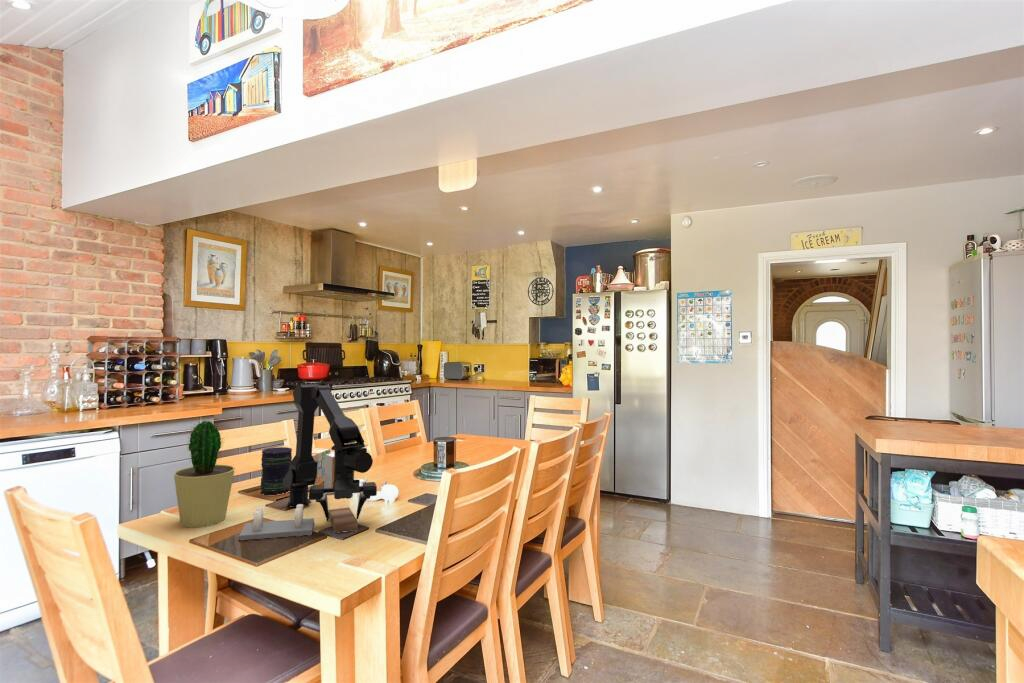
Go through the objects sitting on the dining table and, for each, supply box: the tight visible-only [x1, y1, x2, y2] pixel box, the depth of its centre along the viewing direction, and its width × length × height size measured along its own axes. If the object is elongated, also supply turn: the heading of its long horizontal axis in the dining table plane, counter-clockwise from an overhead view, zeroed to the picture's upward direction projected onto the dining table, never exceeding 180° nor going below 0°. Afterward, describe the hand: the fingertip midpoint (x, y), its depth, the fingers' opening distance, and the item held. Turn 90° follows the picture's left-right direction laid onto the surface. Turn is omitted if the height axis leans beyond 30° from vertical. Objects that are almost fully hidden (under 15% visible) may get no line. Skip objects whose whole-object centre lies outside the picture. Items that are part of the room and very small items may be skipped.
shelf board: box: [328, 507, 359, 534], centre depth 148 cm, size 14×6×3 cm, turn 27°
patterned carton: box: [312, 447, 335, 485], centre depth 196 cm, size 21×6×12 cm, turn 170°
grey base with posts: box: [238, 504, 315, 541], centre depth 141 cm, size 10×18×6 cm, turn 108°
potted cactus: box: [173, 420, 236, 528], centre depth 148 cm, size 15×15×30 cm
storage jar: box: [260, 446, 293, 496], centre depth 179 cm, size 10×10×15 cm
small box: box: [323, 453, 334, 488], centre depth 183 cm, size 8×6×13 cm
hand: (342, 520), depth 148 cm, fingers open, 8 cm apart
